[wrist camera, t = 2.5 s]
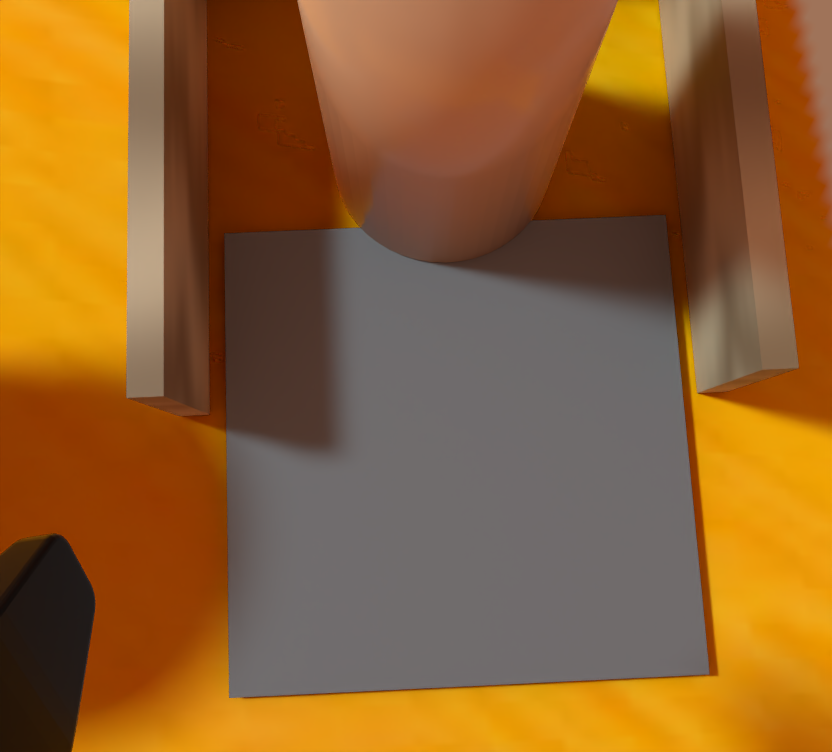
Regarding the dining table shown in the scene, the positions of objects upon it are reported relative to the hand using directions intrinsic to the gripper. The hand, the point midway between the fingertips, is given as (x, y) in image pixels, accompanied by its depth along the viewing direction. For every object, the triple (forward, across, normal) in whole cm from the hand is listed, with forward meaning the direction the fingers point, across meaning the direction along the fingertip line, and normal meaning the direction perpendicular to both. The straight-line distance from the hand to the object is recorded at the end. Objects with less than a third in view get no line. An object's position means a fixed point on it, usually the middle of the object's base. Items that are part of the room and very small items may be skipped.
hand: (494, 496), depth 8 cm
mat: (+11, 0, +7) cm, 13 cm away
